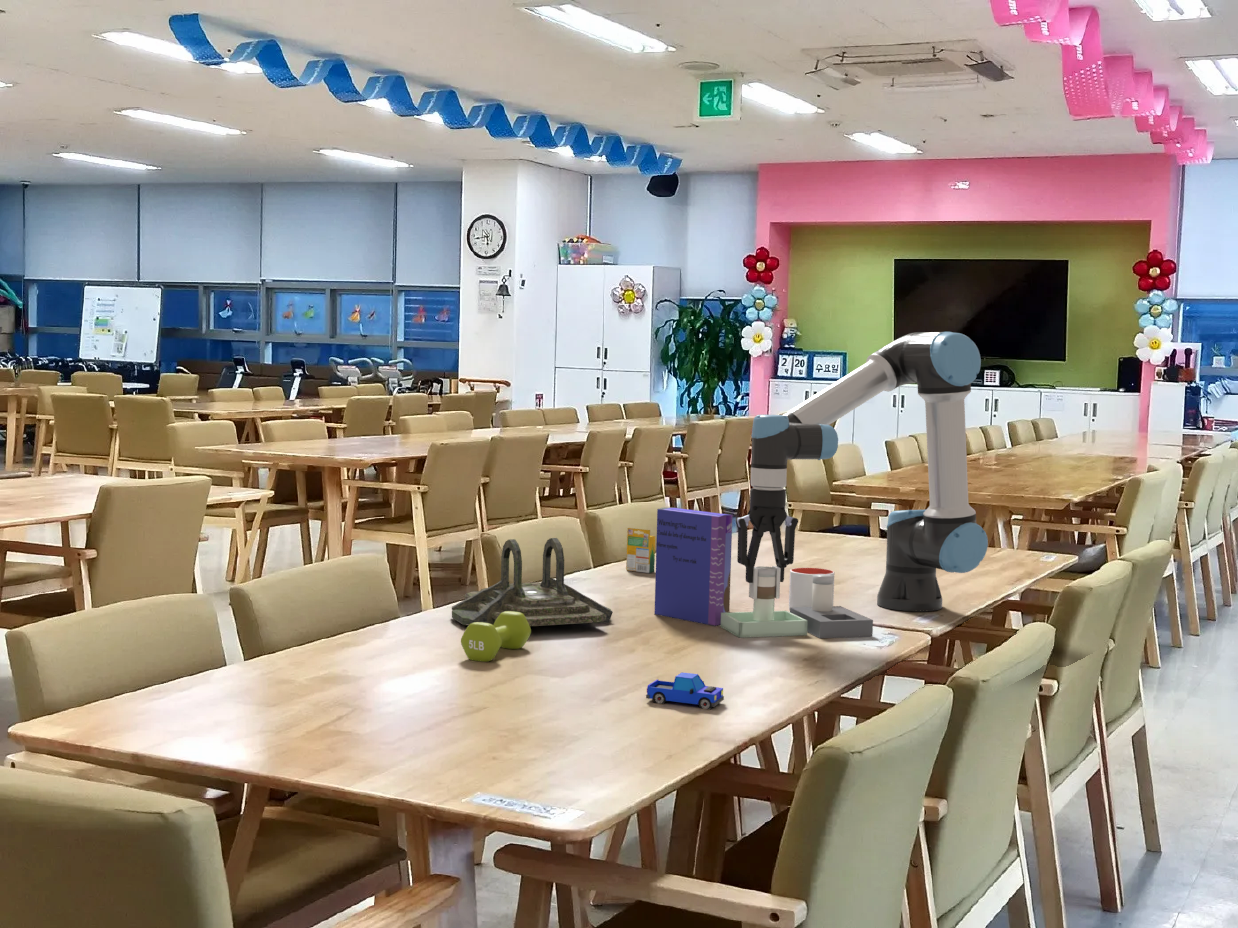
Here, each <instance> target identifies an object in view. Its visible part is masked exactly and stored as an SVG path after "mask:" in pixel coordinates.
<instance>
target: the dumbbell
mask: <svg viewBox="0 0 1238 928" xmlns="http://www.w3.org/2000/svg"><path fill="white" fill-rule="evenodd" d="M531 634H532V629H531V626H529V623H528V621H527V619H526V617H525V616H524V614H523V613H520V612H514V611H505V612H502V613H501V614H500V615H499V616H498V617H497V619H496V621H495V623H494V625H492V624H490V623H483V622H474V623H471V624H470V625H467V627H466V628H465V630H464V632H463V634H462V636H461V638H460V643H461V647H462V649H463V651H464V653H465V655H466V657H467V658H468V659H469V660H470V661H473V662H481V663H488V662H490V661H492V660H494V658H495V657H496V656H497V654H498V652H499V651H500V649H501V648H503V649H507V650H519V649H520V650H521V649H522V648H523V647H524V646H525V644H526V643H527V642H528V640H529V638H530V636H531Z"/></svg>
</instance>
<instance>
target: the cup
mask: <svg viewBox="0 0 1238 928" xmlns="http://www.w3.org/2000/svg"><path fill="white" fill-rule="evenodd" d="M814 574H829V575H833V576H834V577H835V571H833V570H831V569H827V568H819V567H795V568H792V569H789V584H788V585H789V591H788V611H790V607H812V591H813V575H814ZM834 593H835V582H834V583H833V601H834V599H835V598H834V597H835V595H834ZM832 606H834V602H833V603H832Z"/></svg>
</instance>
